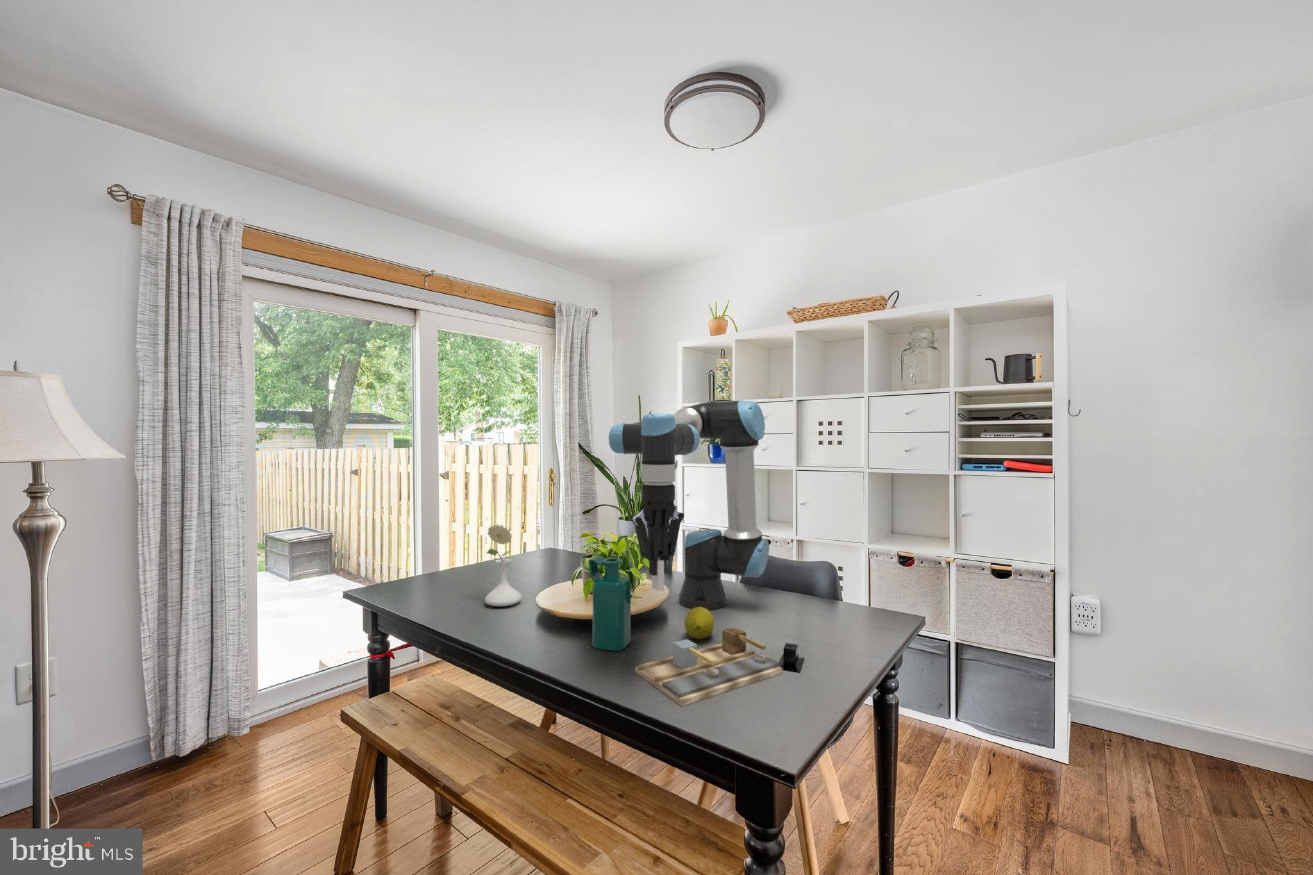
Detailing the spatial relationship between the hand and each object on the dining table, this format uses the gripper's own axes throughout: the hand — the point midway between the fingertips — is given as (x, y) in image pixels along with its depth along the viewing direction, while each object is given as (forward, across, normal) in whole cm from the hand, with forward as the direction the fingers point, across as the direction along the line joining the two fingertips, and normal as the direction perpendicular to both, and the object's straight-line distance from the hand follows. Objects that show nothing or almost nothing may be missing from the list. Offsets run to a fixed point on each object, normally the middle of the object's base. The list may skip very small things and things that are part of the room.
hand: (657, 588), depth 121 cm
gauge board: (+20, -11, +5) cm, 23 cm away
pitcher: (+20, 0, -22) cm, 30 cm away
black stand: (+20, -30, +11) cm, 38 cm away
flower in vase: (+20, +13, -70) cm, 74 cm away
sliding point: (+18, -7, +5) cm, 20 cm away
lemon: (+20, -22, -13) cm, 32 cm away
